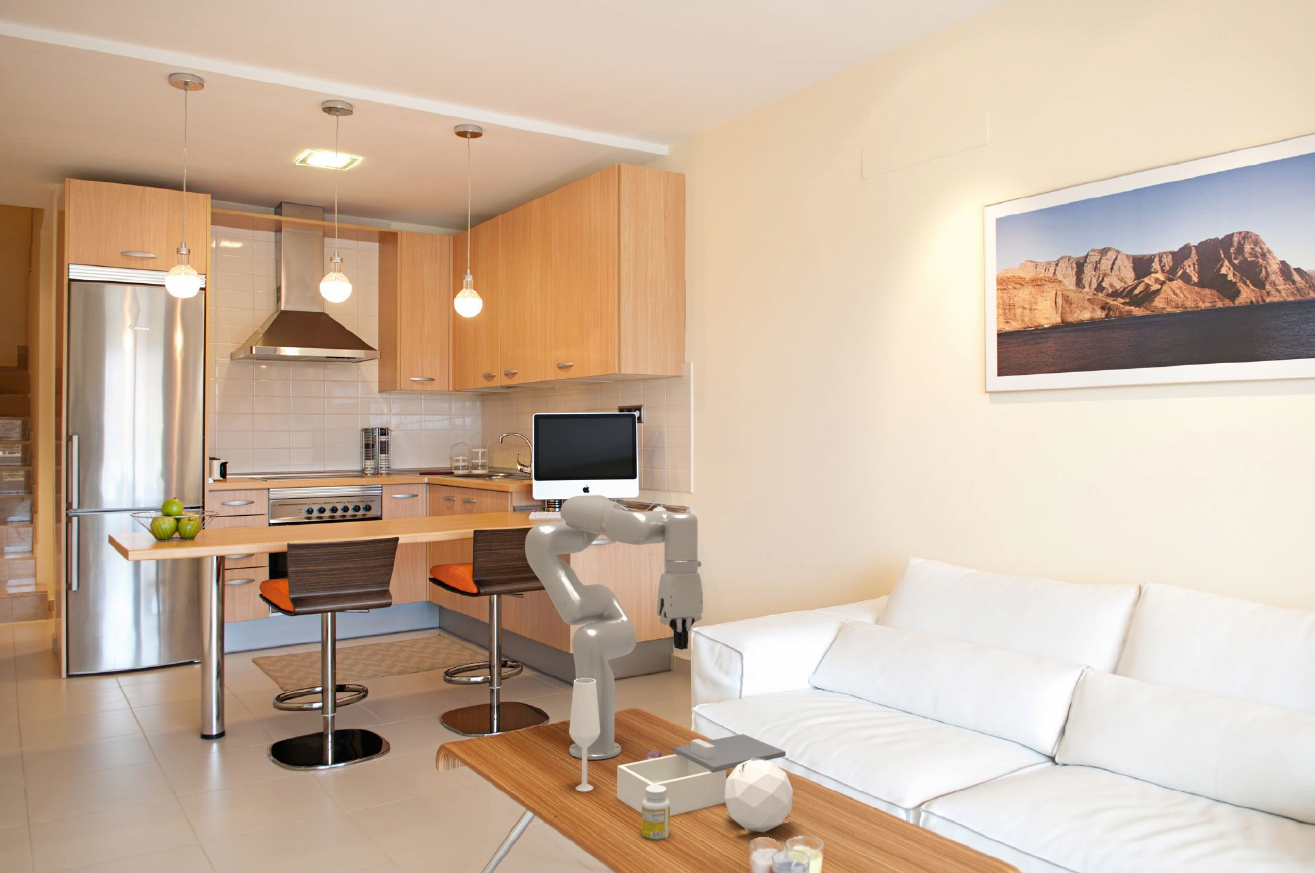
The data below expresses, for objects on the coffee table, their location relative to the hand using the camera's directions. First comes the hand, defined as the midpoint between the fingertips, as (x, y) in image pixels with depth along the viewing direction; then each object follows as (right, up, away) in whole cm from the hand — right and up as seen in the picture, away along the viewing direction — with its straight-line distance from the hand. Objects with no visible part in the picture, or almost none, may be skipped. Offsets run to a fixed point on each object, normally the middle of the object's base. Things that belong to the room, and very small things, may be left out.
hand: (680, 648), depth 211 cm
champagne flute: (-21, -29, -10) cm, 37 cm away
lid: (+10, -21, -9) cm, 25 cm away
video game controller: (-8, -29, 0) cm, 30 cm away
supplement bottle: (-6, -29, -35) cm, 45 cm away
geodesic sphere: (+14, -29, -29) cm, 43 cm away
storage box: (-2, -29, -18) cm, 34 cm away
